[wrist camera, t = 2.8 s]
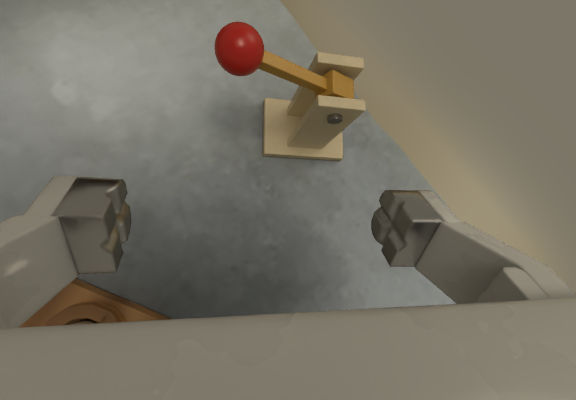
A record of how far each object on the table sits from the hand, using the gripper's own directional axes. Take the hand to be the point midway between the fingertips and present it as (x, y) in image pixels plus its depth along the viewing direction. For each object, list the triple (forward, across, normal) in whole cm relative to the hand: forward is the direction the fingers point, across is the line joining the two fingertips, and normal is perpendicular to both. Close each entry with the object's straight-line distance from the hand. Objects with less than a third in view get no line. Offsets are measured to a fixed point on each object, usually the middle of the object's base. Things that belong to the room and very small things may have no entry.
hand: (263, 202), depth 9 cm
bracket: (+29, -9, +10) cm, 32 cm away
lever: (+21, -4, +2) cm, 21 cm away
